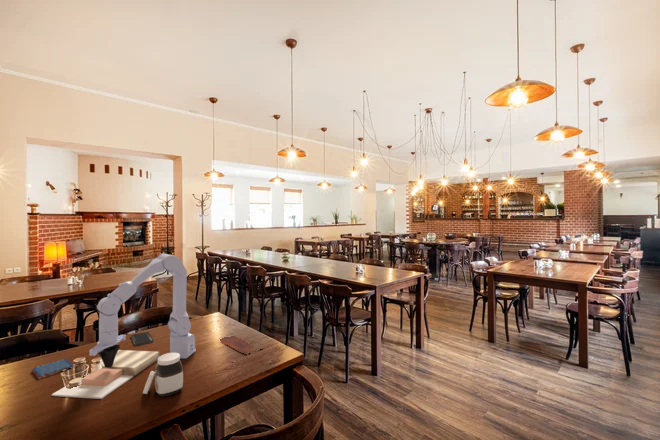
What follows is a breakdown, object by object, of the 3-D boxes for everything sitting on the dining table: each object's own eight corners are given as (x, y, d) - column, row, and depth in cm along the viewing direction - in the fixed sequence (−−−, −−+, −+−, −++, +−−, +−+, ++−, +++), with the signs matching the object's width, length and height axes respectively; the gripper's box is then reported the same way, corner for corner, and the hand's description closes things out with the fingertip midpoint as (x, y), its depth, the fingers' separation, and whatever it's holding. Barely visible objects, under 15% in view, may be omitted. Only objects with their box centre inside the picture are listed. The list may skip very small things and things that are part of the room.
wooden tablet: (264, 350, 140) (264, 346, 140) (245, 357, 133) (245, 353, 133) (233, 335, 158) (233, 331, 158) (214, 340, 151) (214, 337, 151)
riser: (159, 358, 130) (159, 351, 130) (134, 375, 116) (134, 367, 116) (119, 357, 132) (119, 350, 132) (90, 373, 118) (90, 365, 118)
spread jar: (186, 392, 105) (186, 357, 105) (148, 406, 97) (148, 369, 97) (174, 379, 114) (174, 347, 114) (138, 391, 106) (138, 357, 106)
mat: (132, 377, 115) (132, 375, 115) (101, 398, 101) (101, 397, 101) (88, 374, 117) (88, 373, 117) (51, 395, 103) (51, 394, 103)
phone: (148, 331, 159) (153, 340, 148) (148, 333, 159) (153, 342, 148) (130, 335, 154) (134, 344, 143) (130, 337, 154) (134, 347, 143)
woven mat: (30, 372, 119) (30, 367, 119) (66, 362, 128) (66, 357, 128) (37, 381, 113) (37, 375, 113) (74, 370, 122) (74, 364, 122)
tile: (122, 374, 116) (122, 369, 116) (104, 386, 108) (104, 380, 108) (100, 373, 117) (100, 368, 117) (81, 384, 109) (81, 379, 109)
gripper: (114, 323, 123) (114, 357, 123) (81, 337, 108) (81, 375, 108) (130, 323, 122) (130, 358, 122) (99, 337, 108) (100, 376, 108)
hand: (108, 366), depth 115 cm, fingers closed
